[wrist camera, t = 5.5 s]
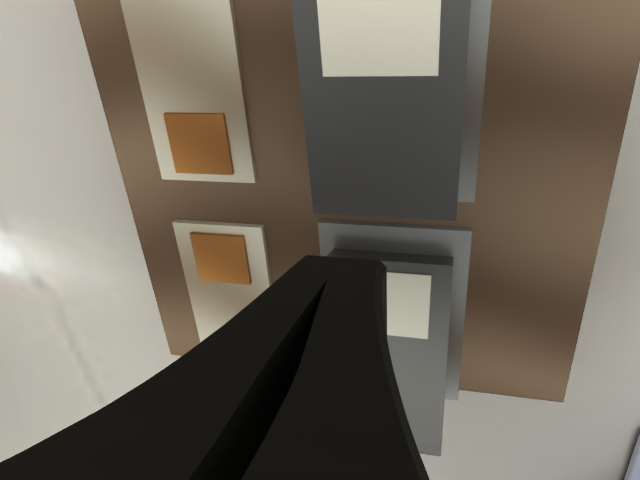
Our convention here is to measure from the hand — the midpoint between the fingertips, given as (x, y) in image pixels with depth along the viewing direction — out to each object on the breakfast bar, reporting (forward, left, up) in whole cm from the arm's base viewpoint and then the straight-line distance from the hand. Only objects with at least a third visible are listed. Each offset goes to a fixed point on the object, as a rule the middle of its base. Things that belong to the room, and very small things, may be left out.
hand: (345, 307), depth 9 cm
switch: (-5, 0, -5) cm, 8 cm away
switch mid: (+2, 0, -5) cm, 5 cm away
